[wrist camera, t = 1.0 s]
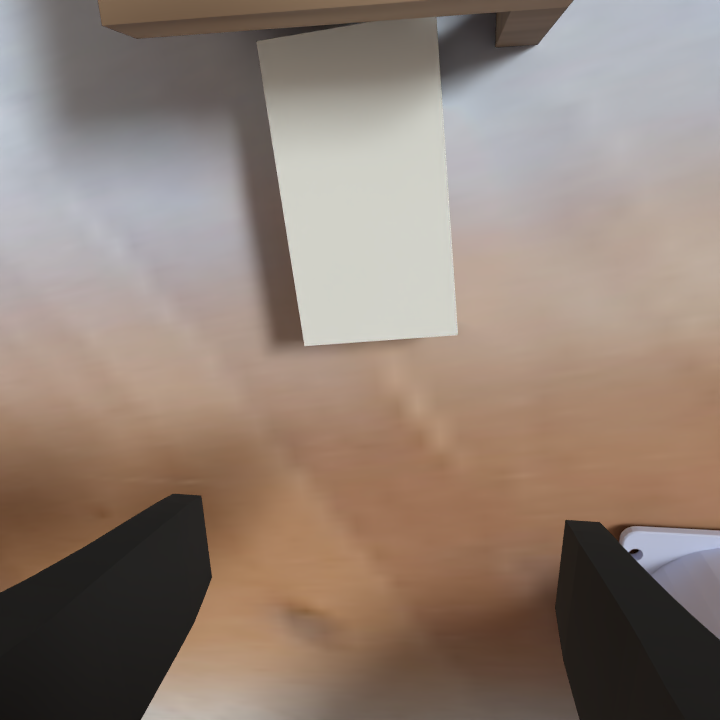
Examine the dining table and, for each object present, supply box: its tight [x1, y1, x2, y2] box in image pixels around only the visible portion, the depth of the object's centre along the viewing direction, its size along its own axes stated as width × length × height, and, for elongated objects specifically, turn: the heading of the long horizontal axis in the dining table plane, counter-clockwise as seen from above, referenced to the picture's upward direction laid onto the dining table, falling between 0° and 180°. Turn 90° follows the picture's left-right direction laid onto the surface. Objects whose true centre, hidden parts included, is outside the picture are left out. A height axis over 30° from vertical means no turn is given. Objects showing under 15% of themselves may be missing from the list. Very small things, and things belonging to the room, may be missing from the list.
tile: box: [256, 17, 458, 346], centre depth 18 cm, size 9×5×2 cm, turn 7°
